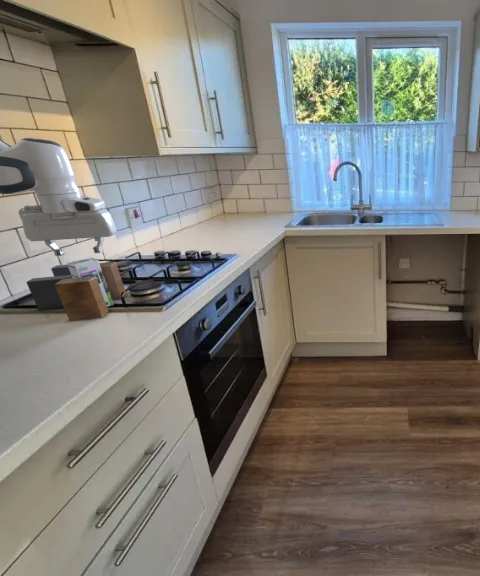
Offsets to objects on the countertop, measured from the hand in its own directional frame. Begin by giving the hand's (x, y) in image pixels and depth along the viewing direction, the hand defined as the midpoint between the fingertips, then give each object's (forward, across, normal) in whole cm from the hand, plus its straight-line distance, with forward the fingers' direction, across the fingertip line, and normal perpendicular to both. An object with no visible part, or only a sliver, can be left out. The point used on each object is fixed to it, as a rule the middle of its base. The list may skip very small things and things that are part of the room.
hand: (79, 253), depth 101 cm
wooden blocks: (+16, 0, 0) cm, 17 cm away
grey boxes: (+17, -12, +10) cm, 23 cm away
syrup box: (+17, 0, 0) cm, 17 cm away
